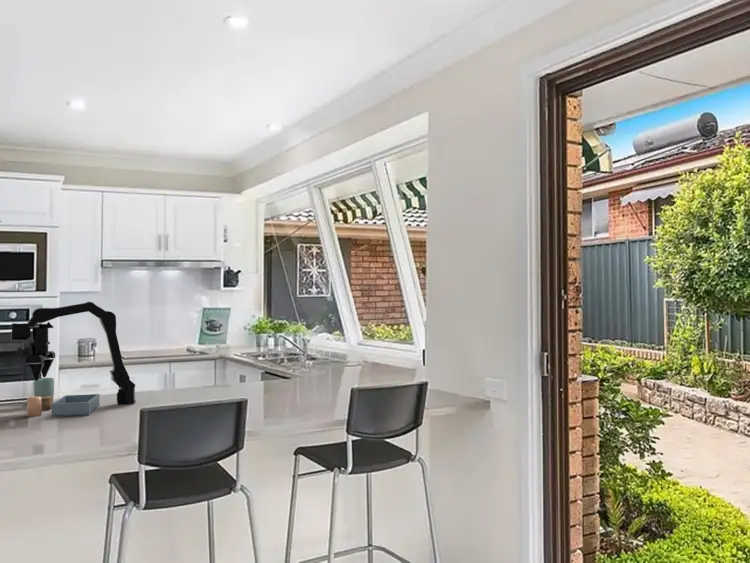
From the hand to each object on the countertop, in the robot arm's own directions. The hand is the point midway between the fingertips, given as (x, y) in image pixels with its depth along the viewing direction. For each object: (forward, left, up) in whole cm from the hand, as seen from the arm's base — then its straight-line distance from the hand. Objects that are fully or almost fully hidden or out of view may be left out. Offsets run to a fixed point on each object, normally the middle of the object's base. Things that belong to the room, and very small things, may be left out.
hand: (40, 378), depth 269 cm
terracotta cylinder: (+1, +6, -13) cm, 15 cm away
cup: (+5, -24, -14) cm, 28 cm away
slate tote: (-14, +2, -13) cm, 19 cm away
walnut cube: (0, -6, -14) cm, 15 cm away
